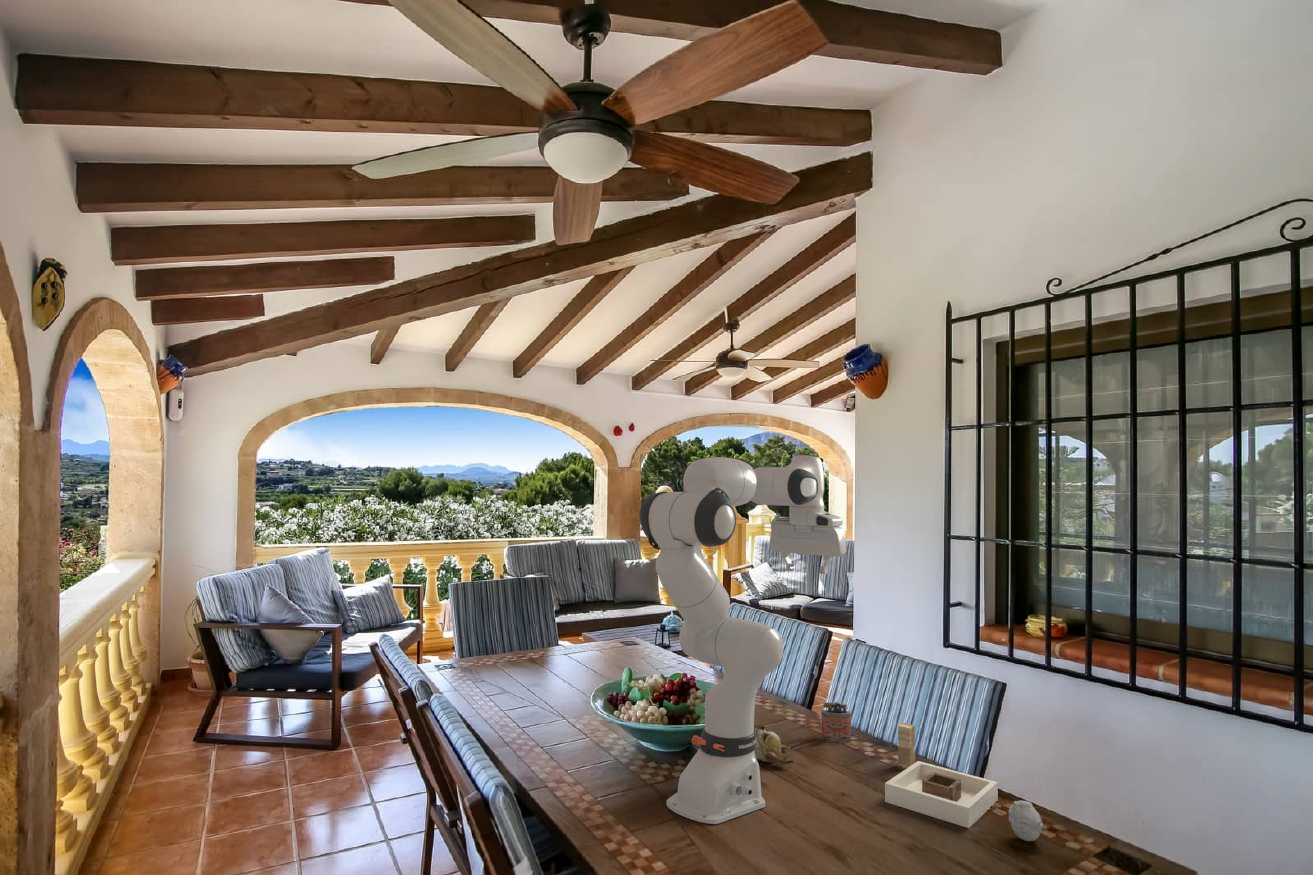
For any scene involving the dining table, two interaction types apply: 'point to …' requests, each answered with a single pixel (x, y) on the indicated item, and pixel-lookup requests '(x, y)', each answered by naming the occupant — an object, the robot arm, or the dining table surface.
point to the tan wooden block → (906, 745)
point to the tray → (942, 793)
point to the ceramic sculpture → (770, 747)
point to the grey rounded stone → (1025, 820)
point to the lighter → (836, 723)
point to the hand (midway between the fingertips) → (806, 572)
